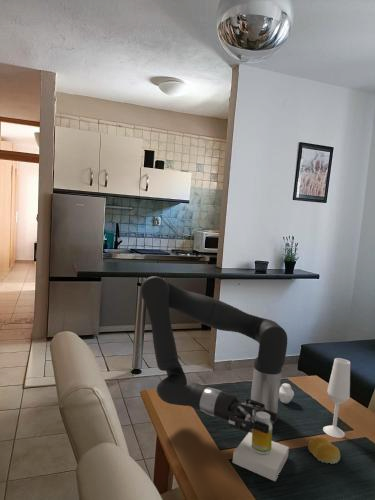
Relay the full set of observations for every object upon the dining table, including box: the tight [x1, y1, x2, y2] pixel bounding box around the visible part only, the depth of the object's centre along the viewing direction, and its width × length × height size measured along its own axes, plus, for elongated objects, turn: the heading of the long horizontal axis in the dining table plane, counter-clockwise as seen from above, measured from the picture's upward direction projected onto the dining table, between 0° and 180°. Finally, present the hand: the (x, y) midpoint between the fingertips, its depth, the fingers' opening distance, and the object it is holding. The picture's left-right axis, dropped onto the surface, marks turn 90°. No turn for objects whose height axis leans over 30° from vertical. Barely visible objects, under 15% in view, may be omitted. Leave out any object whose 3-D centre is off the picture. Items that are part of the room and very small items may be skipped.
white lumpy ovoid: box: [279, 382, 295, 404], centre depth 136 cm, size 6×6×7 cm
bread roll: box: [307, 436, 341, 465], centre depth 105 cm, size 8×9×4 cm
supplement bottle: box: [251, 412, 273, 454], centre depth 100 cm, size 5×5×10 cm
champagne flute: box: [322, 357, 351, 439], centre depth 117 cm, size 7×7×24 cm
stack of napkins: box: [232, 432, 290, 482], centre depth 100 cm, size 12×12×3 cm
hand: (272, 423), depth 98 cm, fingers open, 6 cm apart
